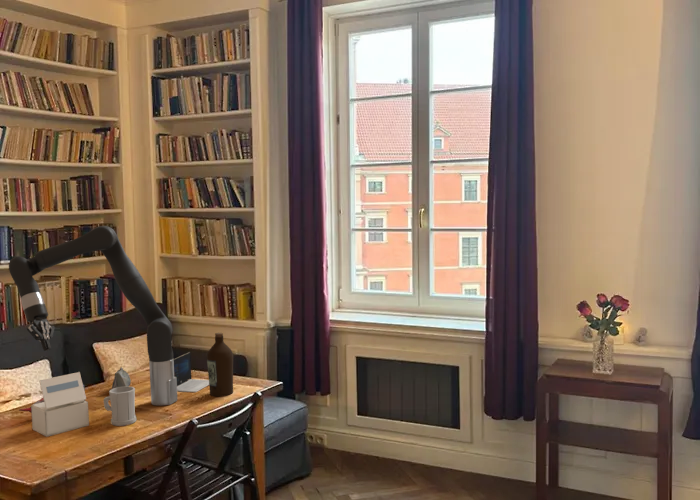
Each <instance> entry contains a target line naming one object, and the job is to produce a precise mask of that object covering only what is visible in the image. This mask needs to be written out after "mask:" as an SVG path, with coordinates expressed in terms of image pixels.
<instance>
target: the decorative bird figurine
mask: <svg viewBox="0 0 700 500" xmlns="http://www.w3.org/2000/svg"><path fill="white" fill-rule="evenodd" d="M42 402H44V399H43V397H41V398H40V399H39V400H37V401H35V402H34V403H33V404H37V403H42ZM33 404H31V406H33ZM31 406H30V407H28V408H27V407H25V408H20V409H18V411H19V412H28V413H29V412H30V413H31Z"/></svg>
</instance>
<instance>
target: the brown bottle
mask: <svg viewBox="0 0 700 500" xmlns="http://www.w3.org/2000/svg"><path fill="white" fill-rule="evenodd" d="M214 336H215V337H214V343H213V345H212V346H211V347H210V349H208V351H207V354H206V364H207V375H208V380H209V385H208V386H209V394H210V396H212V397H226V396H229V395H232V394H233V393H234V354H233V351H232V349H231V348H230V347H229V345H227V344H226V343H225V342H224V332H216V333H214Z"/></svg>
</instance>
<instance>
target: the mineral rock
mask: <svg viewBox="0 0 700 500" xmlns="http://www.w3.org/2000/svg"><path fill="white" fill-rule="evenodd" d="M131 381H132V380H131V377H130V374H129V373H128V372H127V371H126V370H124V368H123V367H122V366H121V367H120V368H119V369H118V370H117V371H116V372H115V373H114V378H113V381H112V386H111V389H114V388H118V387H127V386H128V387H130V385H131Z"/></svg>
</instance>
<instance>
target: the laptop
mask: <svg viewBox="0 0 700 500" xmlns="http://www.w3.org/2000/svg"><path fill="white" fill-rule="evenodd" d="M191 358H192V357H191V352H190V351H189V352H187V353H184V354H182V355H180V356H178V357H176V358H173V361H174V377H176V378H177V393H178V392H180V393H197V392H199V391H201V390H202V389H204V388H206V387H208V386H209V379H198V378H197V379H196V378H195V379H194V378H192V361H191Z"/></svg>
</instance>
